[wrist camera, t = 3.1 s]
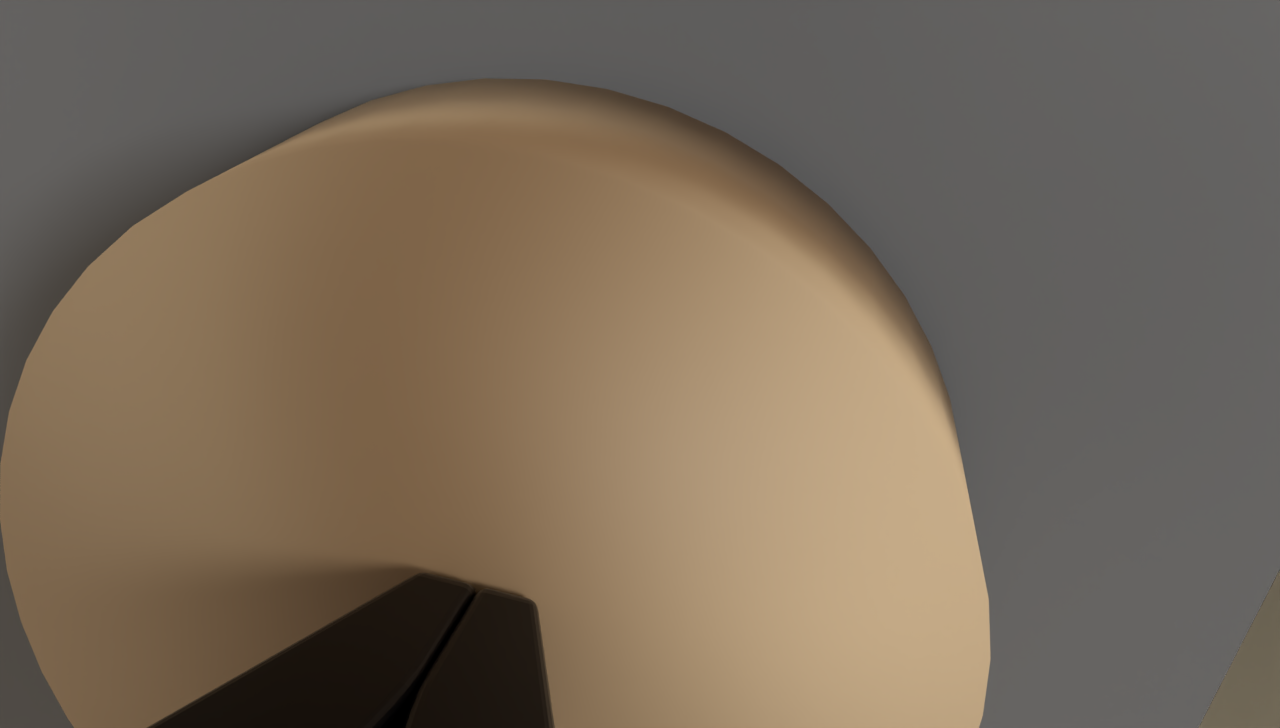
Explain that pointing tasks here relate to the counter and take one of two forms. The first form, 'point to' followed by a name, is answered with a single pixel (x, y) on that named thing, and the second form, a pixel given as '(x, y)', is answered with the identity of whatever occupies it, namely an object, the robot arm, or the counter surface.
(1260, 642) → the counter surface
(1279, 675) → the counter surface
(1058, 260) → the gray rectangular block
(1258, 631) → the counter surface
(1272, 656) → the counter surface
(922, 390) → the tan rounded lump
